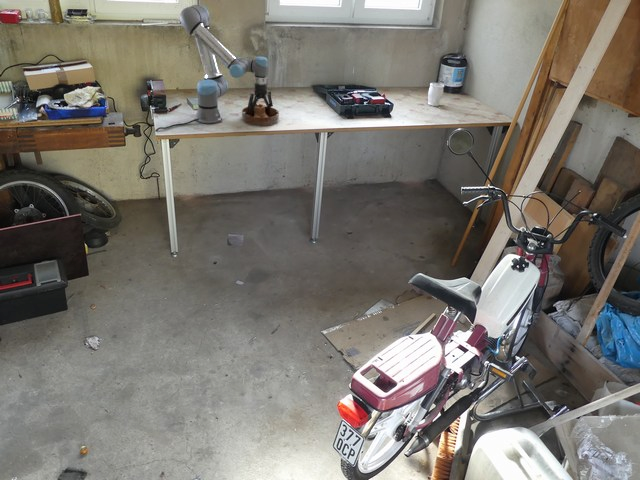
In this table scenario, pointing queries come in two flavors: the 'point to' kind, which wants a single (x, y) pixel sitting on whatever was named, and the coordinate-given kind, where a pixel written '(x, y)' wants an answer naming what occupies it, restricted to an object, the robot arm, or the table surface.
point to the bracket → (260, 111)
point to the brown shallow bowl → (259, 121)
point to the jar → (435, 93)
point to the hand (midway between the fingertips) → (259, 118)
